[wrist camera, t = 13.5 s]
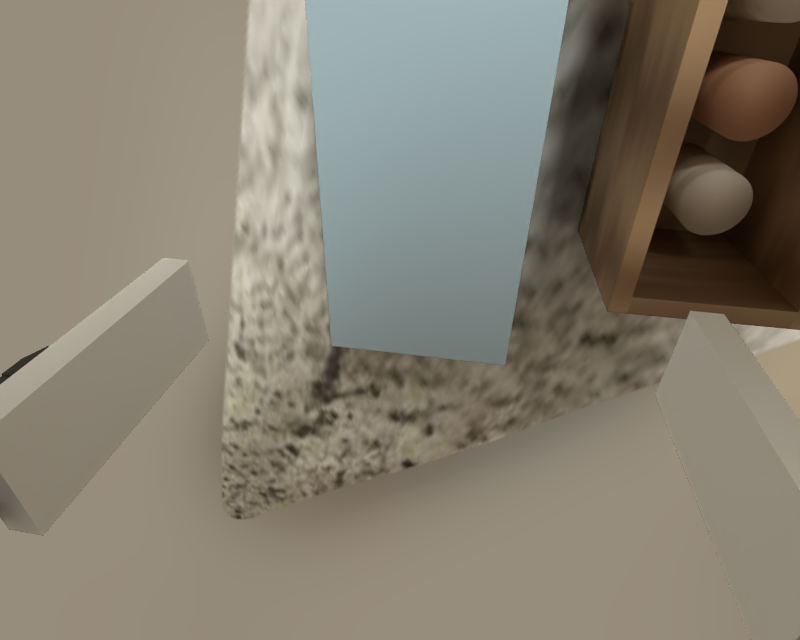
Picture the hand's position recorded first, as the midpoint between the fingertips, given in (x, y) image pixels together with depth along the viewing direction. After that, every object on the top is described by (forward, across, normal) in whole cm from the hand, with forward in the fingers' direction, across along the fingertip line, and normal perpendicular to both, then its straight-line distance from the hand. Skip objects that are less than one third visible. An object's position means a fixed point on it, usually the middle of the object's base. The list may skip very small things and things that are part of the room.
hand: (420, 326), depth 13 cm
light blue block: (+17, -1, -1) cm, 17 cm away
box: (+17, +11, +4) cm, 21 cm away
